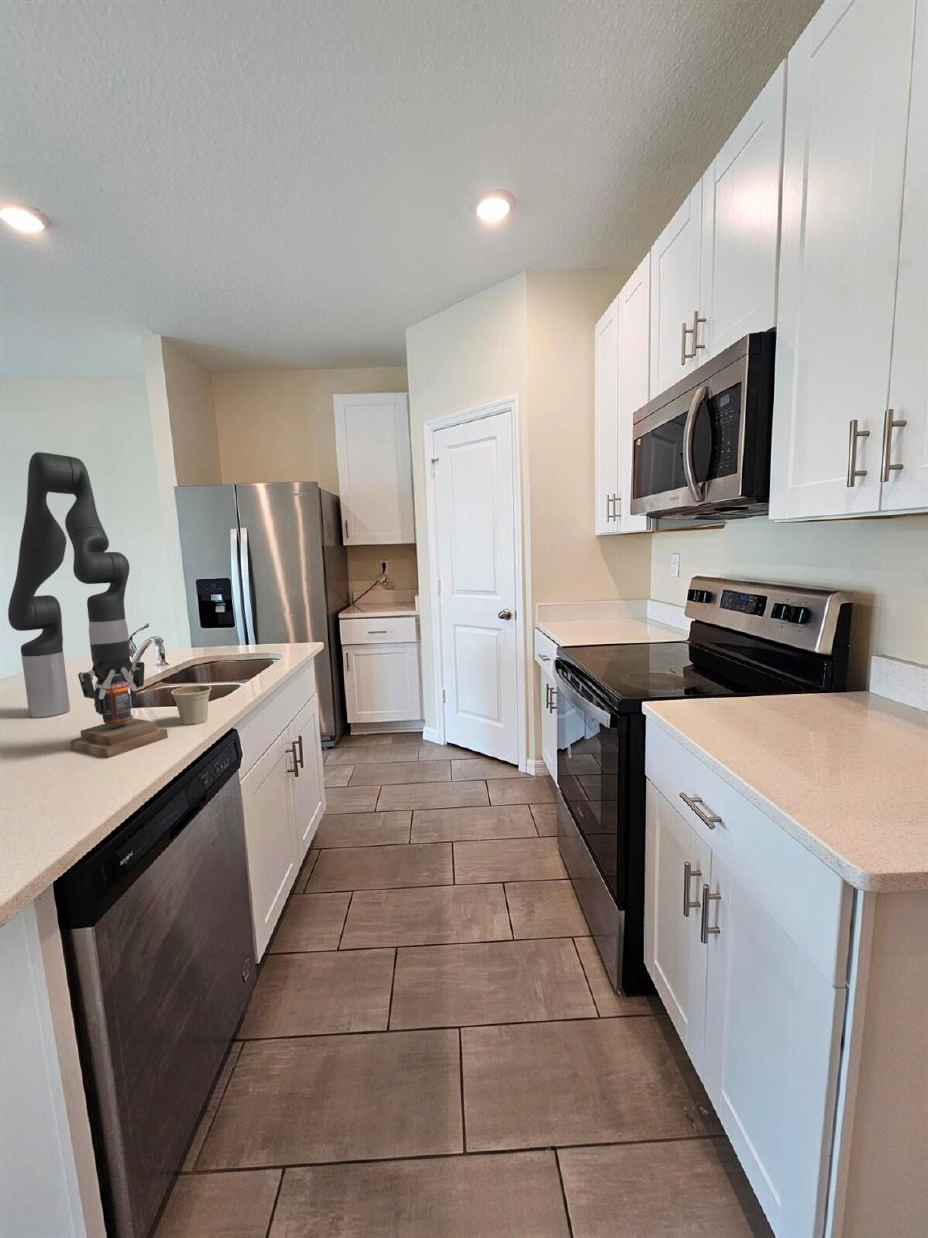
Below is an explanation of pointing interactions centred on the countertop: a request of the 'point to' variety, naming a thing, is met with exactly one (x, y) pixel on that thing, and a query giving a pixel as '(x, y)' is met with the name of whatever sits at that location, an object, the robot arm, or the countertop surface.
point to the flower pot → (192, 703)
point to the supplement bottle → (118, 701)
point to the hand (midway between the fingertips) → (117, 710)
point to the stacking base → (119, 746)
